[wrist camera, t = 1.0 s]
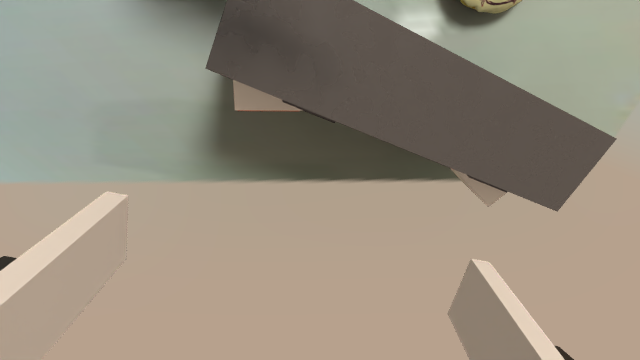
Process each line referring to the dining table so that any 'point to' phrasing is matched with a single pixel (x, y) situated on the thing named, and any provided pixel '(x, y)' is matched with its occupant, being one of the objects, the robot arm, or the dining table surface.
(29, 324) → the robot arm
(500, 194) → the rocker
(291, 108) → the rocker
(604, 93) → the dining table surface
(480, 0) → the decorated donut
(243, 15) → the grey panel with openings
